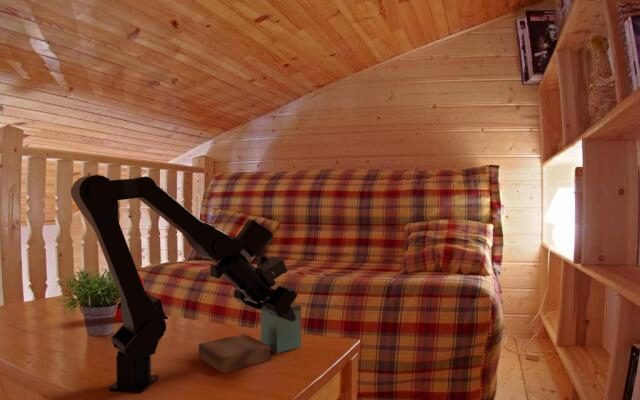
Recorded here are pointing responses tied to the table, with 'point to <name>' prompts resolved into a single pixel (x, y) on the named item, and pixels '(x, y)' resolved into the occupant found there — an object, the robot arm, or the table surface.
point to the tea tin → (281, 330)
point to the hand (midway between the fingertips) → (285, 316)
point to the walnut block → (234, 352)
